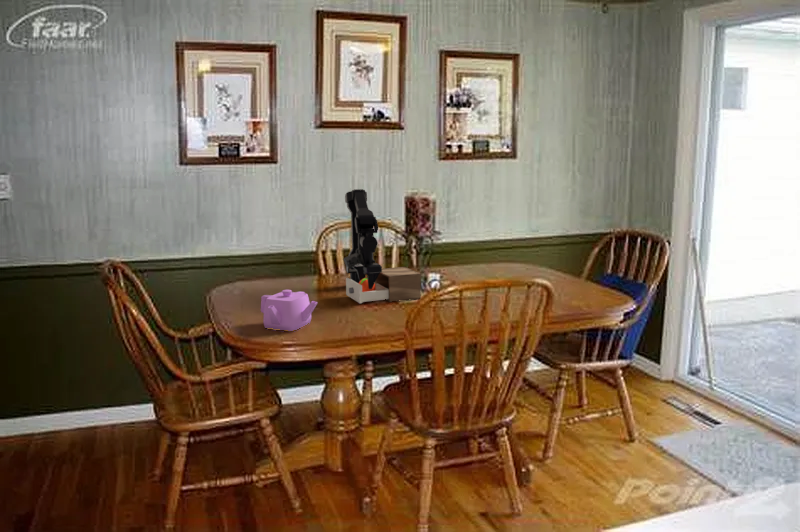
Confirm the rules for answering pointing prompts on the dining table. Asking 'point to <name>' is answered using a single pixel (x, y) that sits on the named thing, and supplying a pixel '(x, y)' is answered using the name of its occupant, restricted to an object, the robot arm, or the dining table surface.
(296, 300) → the teakettle
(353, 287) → the drawer
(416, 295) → the small brown cabinet
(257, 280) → the dining table surface
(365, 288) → the clementine
